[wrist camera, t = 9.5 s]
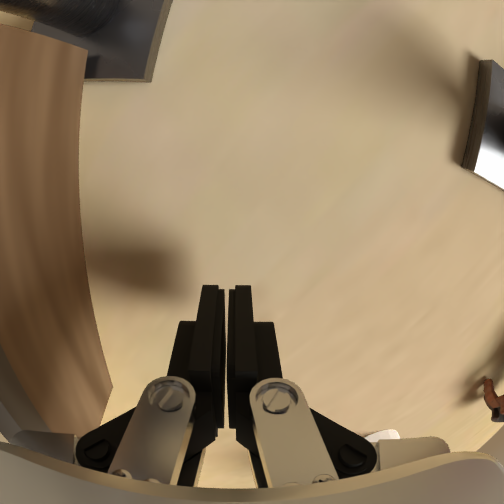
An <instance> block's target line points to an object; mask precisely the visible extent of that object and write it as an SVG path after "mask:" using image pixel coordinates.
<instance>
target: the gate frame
mask: <svg viewBox="0 0 504 504" xmlns="http://www.w3.org/2000/svg"><path fill="white" fill-rule="evenodd" d="M172 1H173V0H0V11H3V12H7V13H10V14H14V15H17V16H20V17H24V18H27V19H30V20H33V21H34V23H33V27H32V30H31V32H34V33H38V34H41V35H44V36H48V37H51V38H54V39H57V40H60V41H63V42H66V43H69V44H72V45H75V46H78V47H80V48H83V49H86V50H88V54H87V60H86V67H85V74H84V81H133V82H151V81H152V77H153V72H154V67H155V63H156V59H157V55H158V50H159V46H160V43H161V39H162V35H163V31H164V28H165V24H166V21H167V17H168V14H169V10H170V7H171V4H172ZM462 168H464V169H466V170H468V171H470V172H471V173H473V174H475V175H477V176H479V177H480V178H482V179H484V180H486V181H487V182H489V183H491V184H493V185H494V186H496V187H498V188H499V189H501V190H503V191H504V69H503V68H502V67H501V66H499V65H498V64H497V63H496V62H495V61H494V60H481V61H480V63H479V74H478V84H477V91H476V99H475V105H474V111H473V117H472V123H471V128H470V133H469V138H468V142H467V147H466V151H465V155H464V159H463V163H462Z"/></svg>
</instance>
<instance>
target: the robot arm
mask: <svg viewBox="0 0 504 504" xmlns="http://www.w3.org/2000/svg"><path fill="white" fill-rule="evenodd" d="M225 367H226V333H225V293H224V289H219V287H218V285H203V286H202V291H201V297H200V302H199V308H198V313H197V319H196V321H180V322H179V325H178V330H177V334H176V338H175V342H174V347H173V351H172V355H171V360H170V364H169V369H168V373H167V376H165V377H160V378H158V379H155V380H153V381H152V382H151V383H149V384H148V385H147V387H146V388H145V390H144V391H143V394H142V396H141V398H140V400H139V402H138V404H137V406H136V407H135V408H133V409H131V410H129V411H128V412H126V413H124V414H122V415H120V416H118V417H117V418H115V419H113V420H111V421H109V422H107V423H105V424H103V425H102V426H100V427H98V428H96V429H94V430H92V431H90V432H88V433H86V434H85V435H84V436H82V437H77V436H76V435H75V434H66V433H52V432H41V431H32V430H22V431H20V432H18V433H16V434H15V435H14V436H13V437H12V440H11V443H10V444H9V443H4V442H0V504H504V467H503V466H502V465H501V463H499V461H498V460H497V459H496V458H494V457H493V456H491V455H489V454H486V453H479V452H467V451H463V452H452V453H450V449H449V447H448V444H447V443H446V442H445V441H444V440H443V439H440V438H438V437H420V438H406V439H379V440H378V442H369V441H368V440H366V439H365V438H363V437H361V436H359V435H357V434H355V433H354V432H352V431H350V430H348V429H346V428H344V427H342V426H341V425H339V424H337V423H335V422H333V421H332V420H330V419H328V418H326V417H325V416H323V415H321V414H319V413H318V412H316V411H314V410H313V409H311V408H309V406H308V404H307V401H306V399H305V396H304V394H303V392H302V390H301V389H300V387H299V386H297V385H296V384H295V383H294V382H291V381H289V380H287V379H283V377H282V371H281V365H280V359H279V352H278V346H277V340H276V334H275V328H274V323H273V322H254V320H253V307H252V294H251V285H235V289H229V307H228V336H227V394H228V414H229V428H232V429H236V441H238V442H239V443H240V444H242V445H243V446H244V447H245V448H247V453H248V457H249V461H250V465H251V470H252V474H253V478H254V482H255V486H256V488H254V489H220V488H199V487H197V485H198V481H199V477H200V473H201V469H202V465H203V460H204V456H205V452H206V446H208V445H209V444H211V443H212V442H213V441H215V437H218V428H224V406H225Z"/></svg>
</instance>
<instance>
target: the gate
mask: <svg viewBox="0 0 504 504" xmlns="http://www.w3.org/2000/svg"><path fill="white" fill-rule="evenodd" d="M87 54H88V50H86V49H83V48H80V47H78V46H75V45H72V44H69V43H66V42H63V41H60V40H57V39H54V38H51V37H48V36H44V35H41V34H38V33H34V32H31V31H27V30H23V29H19V28H15V27H11V26H7V25H3V24H0V432H1V433H2V435H3V436H4V437H5V438H6V439H7V440H8V442H9V443H11V440H12V437H13V436H14V435H15V434H16V433H18V432H20V431H22V430H32V431H41V432H52V433H66V434H75V435H76V436H77V437H82V436H84V435H85V434H86V433H88V432H90V431H92V430H94V429H96V428H98V427H100V424H101V421H102V418H103V414H104V411H105V409H106V406H107V403H108V400H109V397H110V394H111V391H112V388H113V385H112V382H111V379H110V375H109V372H108V368H107V365H106V361H105V358H104V354H103V350H102V346H101V342H100V338H99V334H98V330H97V325H96V321H95V316H94V311H93V306H92V301H91V295H90V290H89V284H88V277H87V271H86V264H85V256H84V248H83V239H82V228H81V216H80V199H79V128H80V112H81V100H82V90H83V82H84V74H85V67H86V60H87Z"/></svg>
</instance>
